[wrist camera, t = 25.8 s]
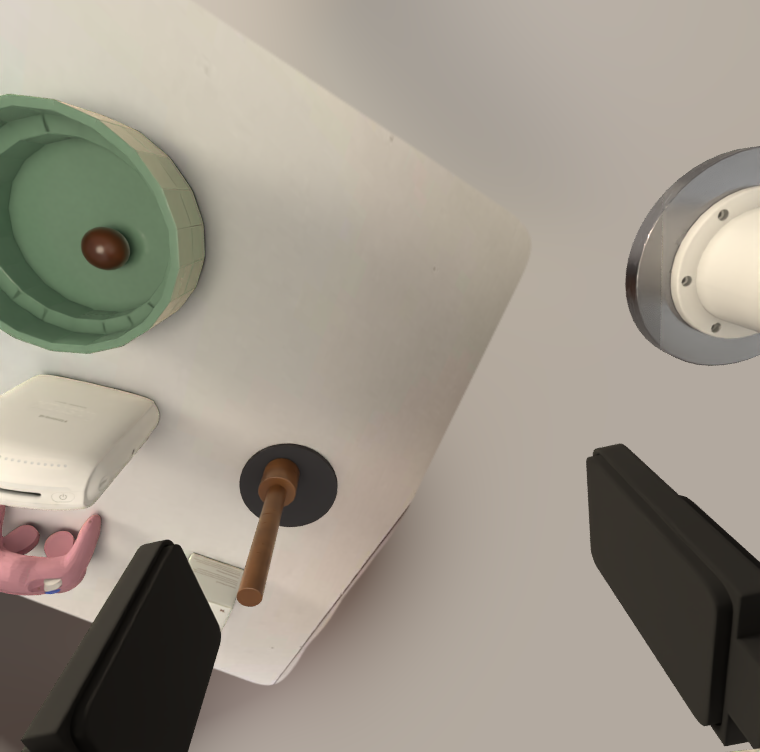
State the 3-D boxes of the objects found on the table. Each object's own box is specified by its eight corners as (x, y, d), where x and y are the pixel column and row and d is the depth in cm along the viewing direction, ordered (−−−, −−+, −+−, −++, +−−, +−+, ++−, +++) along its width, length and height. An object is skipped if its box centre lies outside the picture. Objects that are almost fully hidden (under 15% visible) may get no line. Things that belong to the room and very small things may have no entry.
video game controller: (6, 514, 44) (-45, 590, 39) (-12, 492, 41) (-69, 572, 36) (112, 531, 46) (76, 607, 41) (104, 512, 42) (63, 591, 38)
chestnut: (131, 231, 34) (111, 264, 35) (88, 211, 32) (68, 247, 32) (143, 250, 32) (122, 284, 33) (98, 230, 30) (77, 267, 31)
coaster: (323, 434, 41) (323, 436, 41) (347, 513, 44) (347, 516, 44) (227, 455, 41) (225, 457, 41) (257, 532, 45) (256, 535, 44)
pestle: (297, 456, 41) (270, 575, 28) (301, 485, 42) (278, 613, 29) (261, 459, 41) (219, 580, 28) (267, 489, 42) (228, 618, 29)
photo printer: (164, 396, 39) (85, 480, 27) (158, 439, 40) (80, 536, 29) (36, 365, 37) (-106, 440, 26) (33, 411, 39) (-102, 501, 27)
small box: (191, 550, 45) (173, 590, 40) (246, 569, 46) (234, 609, 42) (173, 590, 47) (153, 633, 42) (226, 607, 48) (213, 650, 43)
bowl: (160, 89, 31) (117, 66, 25) (234, 306, 36) (212, 325, 31) (-53, 141, 31) (-141, 130, 26) (53, 347, 37) (-1, 374, 31)
